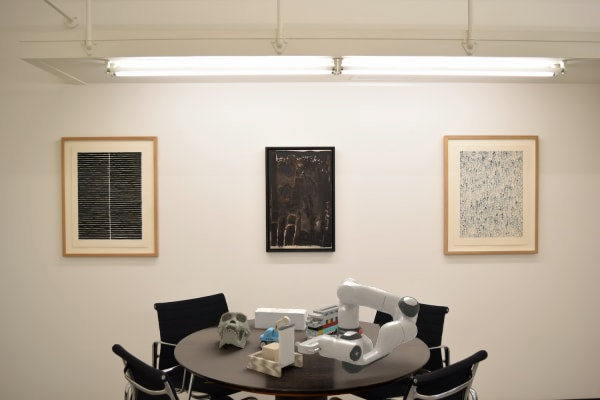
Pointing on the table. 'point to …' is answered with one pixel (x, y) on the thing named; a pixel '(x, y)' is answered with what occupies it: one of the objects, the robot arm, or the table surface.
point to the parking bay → (270, 363)
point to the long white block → (280, 317)
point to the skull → (234, 329)
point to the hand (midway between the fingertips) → (302, 341)
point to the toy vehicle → (322, 321)
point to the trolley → (281, 347)
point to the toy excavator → (273, 333)
